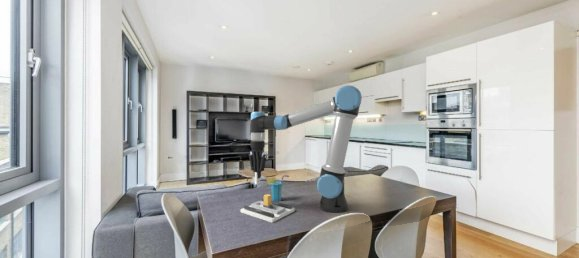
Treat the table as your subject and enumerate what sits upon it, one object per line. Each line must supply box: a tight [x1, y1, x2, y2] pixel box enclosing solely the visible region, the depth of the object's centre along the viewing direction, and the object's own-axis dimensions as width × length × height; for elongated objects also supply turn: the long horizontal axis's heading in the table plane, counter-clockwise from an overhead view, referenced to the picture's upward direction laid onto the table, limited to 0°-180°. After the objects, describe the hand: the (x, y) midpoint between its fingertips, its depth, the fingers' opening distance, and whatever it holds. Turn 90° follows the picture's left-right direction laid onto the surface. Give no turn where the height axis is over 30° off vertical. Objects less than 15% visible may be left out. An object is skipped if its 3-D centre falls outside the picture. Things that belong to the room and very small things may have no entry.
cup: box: [265, 174, 290, 202], centre depth 142 cm, size 14×8×15 cm, turn 104°
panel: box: [240, 198, 296, 223], centre depth 123 cm, size 22×18×3 cm
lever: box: [263, 193, 272, 209], centre depth 123 cm, size 4×3×7 cm
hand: (257, 183), depth 127 cm, fingers closed
